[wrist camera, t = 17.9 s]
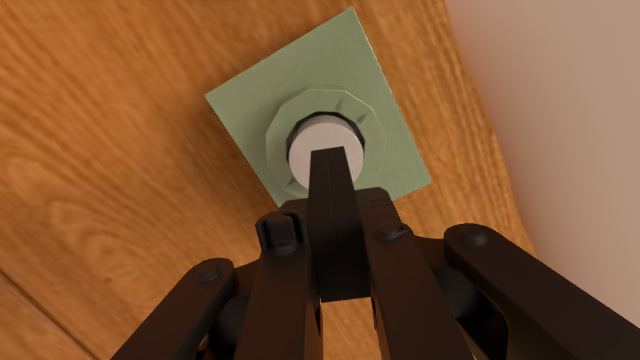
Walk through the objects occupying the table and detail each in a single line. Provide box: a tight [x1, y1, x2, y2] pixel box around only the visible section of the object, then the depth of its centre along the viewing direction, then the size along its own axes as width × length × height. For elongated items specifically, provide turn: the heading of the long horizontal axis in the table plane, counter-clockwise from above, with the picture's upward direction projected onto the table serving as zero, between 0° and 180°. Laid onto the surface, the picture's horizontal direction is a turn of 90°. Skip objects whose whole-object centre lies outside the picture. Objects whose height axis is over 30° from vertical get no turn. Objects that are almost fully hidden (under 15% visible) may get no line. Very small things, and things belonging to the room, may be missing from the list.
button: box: [289, 115, 364, 190], centre depth 19 cm, size 4×4×2 cm
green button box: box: [204, 6, 433, 208], centre depth 22 cm, size 12×10×6 cm
